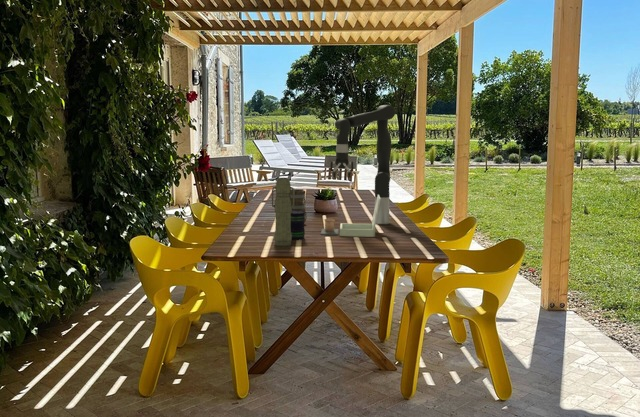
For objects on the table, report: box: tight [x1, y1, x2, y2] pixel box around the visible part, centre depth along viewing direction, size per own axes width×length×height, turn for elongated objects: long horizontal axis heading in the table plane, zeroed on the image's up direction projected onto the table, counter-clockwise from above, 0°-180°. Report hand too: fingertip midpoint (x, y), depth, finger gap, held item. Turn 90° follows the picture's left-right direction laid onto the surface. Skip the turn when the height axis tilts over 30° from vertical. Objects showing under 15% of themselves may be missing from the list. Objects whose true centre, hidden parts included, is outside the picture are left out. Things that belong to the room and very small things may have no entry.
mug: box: [290, 189, 306, 212], centre depth 425 cm, size 20×14×15 cm
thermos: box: [271, 177, 296, 247], centre depth 300 cm, size 9×12×35 cm
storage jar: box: [291, 211, 306, 241], centre depth 318 cm, size 10×10×15 cm
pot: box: [324, 218, 336, 232], centre depth 338 cm, size 6×6×7 cm
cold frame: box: [339, 195, 381, 238], centre depth 336 cm, size 23×20×22 cm
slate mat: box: [320, 228, 340, 236], centre depth 338 cm, size 10×16×1 cm, turn 177°
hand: (341, 178), depth 357 cm, fingers open, 8 cm apart
